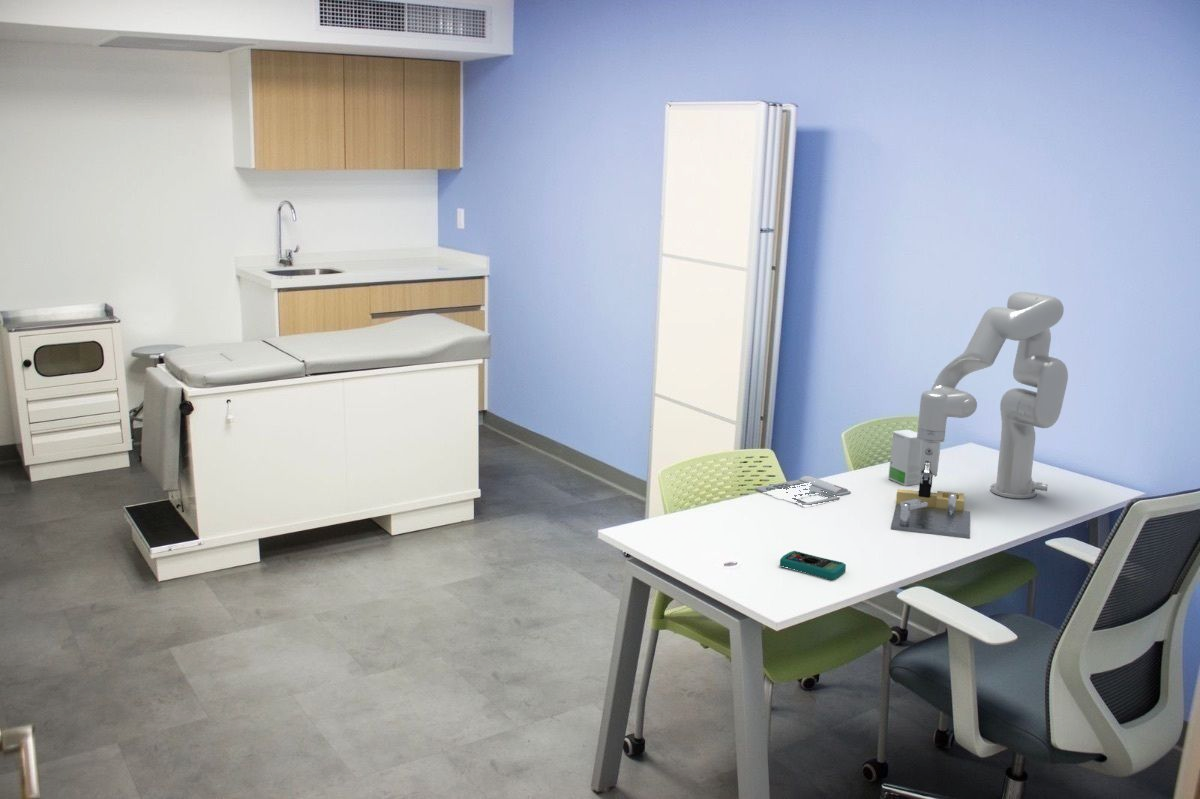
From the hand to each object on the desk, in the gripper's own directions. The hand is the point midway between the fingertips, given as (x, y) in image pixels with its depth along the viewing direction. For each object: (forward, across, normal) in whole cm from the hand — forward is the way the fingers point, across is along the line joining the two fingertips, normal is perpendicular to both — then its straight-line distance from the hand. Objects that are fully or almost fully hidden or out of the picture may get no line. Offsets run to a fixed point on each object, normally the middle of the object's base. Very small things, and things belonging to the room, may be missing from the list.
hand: (924, 492), depth 300 cm
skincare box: (+4, +22, +6) cm, 23 cm away
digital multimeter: (+6, -60, +23) cm, 65 cm away
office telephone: (+6, 0, +33) cm, 34 cm away
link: (+4, +1, -2) cm, 4 cm away
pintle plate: (+4, -14, -3) cm, 15 cm away
